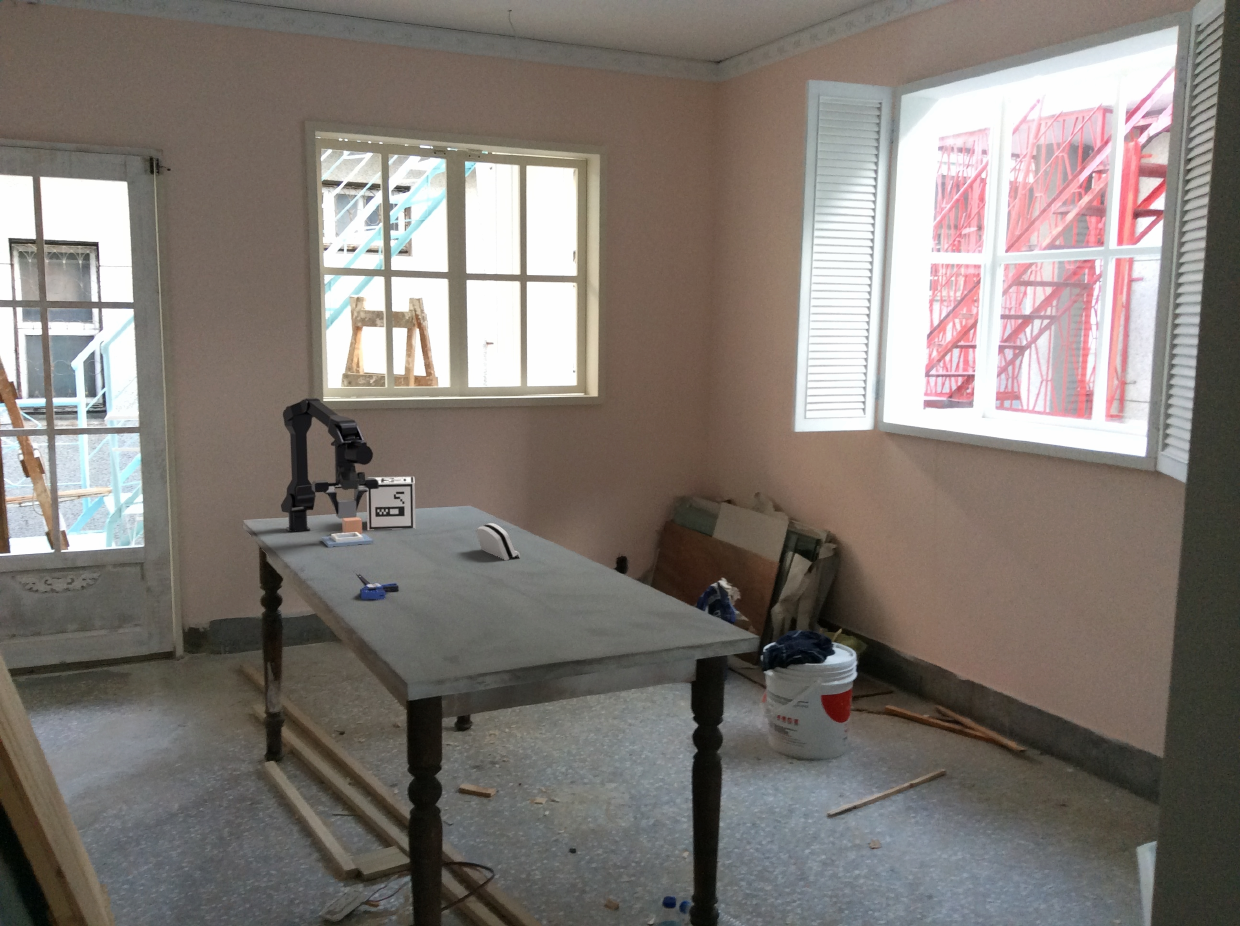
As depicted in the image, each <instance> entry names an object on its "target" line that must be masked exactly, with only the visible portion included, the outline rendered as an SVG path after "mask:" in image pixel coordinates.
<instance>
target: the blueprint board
mask: <svg viewBox="0 0 1240 926" xmlns="http://www.w3.org/2000/svg"><path fill="white" fill-rule="evenodd" d="M321 542H323V544H325V545H326V546H327V548H334V547H333V546H339V547H347V545H350V546H359V545H358V544H362V545H370V544H369V543H373V544H374V540H373V539H372V538H371V537H370V536H368V535H367V534H366V533H362V534H359V533H358V532H351V533H343V532H341V533H332V534H330V535H329V536H321Z"/></svg>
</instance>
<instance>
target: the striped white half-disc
mask: <svg viewBox="0 0 1240 926" xmlns="http://www.w3.org/2000/svg"><path fill="white" fill-rule="evenodd" d="M475 534H476V536H477V539H478V542H479V546H480V550H481V549H482V551H484V552H486V553H488V554H490V555H492V554H493V556H495V557H497V556H498V557H497V558H499V557H500V558H499V559H501V558H502V559H501V560H503V559H504V561H509V560H510V557H511V558H515V556H517V557H521V554H520V552H519V551H517V550H515V548H514V546H513V544H512V540H511V539H510V536H509V534H508V532H507V531H506V530H505V529H503V528H502V527H501V526H499V525H498V524H496V523H493V522H492V523H491V522H489V523H487V524H483V525H481V526H479V527H478V528H477V529H475ZM517 557H516V558H517ZM521 558H522V557H521Z"/></svg>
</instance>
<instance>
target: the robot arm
mask: <svg viewBox="0 0 1240 926" xmlns="http://www.w3.org/2000/svg"><path fill="white" fill-rule="evenodd" d="M282 417H283V423H284V424H283V425H284V427H285V429H286V430H287V431H288V433H289V437H290V463H291V466H290V467H291V480H290V482H289V483H288V485H287V487H286V496H285V497H284V499H283V500H282V502H281V504H280V508H281V512H283V513H287V517H288V518H287V519H288V526H286V527H285V529H286V530H287V531H288V532H289V533H293V532H305V531H311V528H310V527H309V526H308V511H314V507H315V502H316V497H317V495H316V493H324V494H325V495H327V496H328V497H329V499H330V502H331V505H332V507H333V509H334V512H335V515H336V514H338V505H337V499H338V498H337V497H338V496H337V494H338V493H337V492H336V491H335V489H342V490H343V491H348V490H353V499H354V500H356V512H357V511H358V508H359V505H360V502H361V499H362V497H363V495H364V494H365V493H367V492H368V490H367V488H368V489H379V483H378V480H377V479H375V478H368V477H366V473H365V471H358V472H357V471H356V469H357V467H356V465H362V466H367V465H368V464H370V463H371V462H372V461H373V457H374V452H373V451H372V448H371V447H370V446H368V444H367V443H368V442H367V441H365V439H364V436H363V434H362V432H361V430H360V427H359V425H358V423H357V422H356V421H355V419H353V418H350V417H347V416H344V415H343V416H342V415H339V414H338V413H336V412H335V411H333V410H332V409H331V408H329V406H327V405H325V404H324V403H322V401H321V399H319V398H317V397H311V398H304V399H301V400H300V401H299V402H296V403H294V404H291V405H288V406H286V407H285V409H283V412H282ZM313 418H315V419H316V420H317V421H319V422H320V423H322V424H323V425H324V426H325V427H326V428H327V433H328V434H329V435H330V437H332V439H334V440H333V441H332V442H331V443H330V445H331V446H332V447H334V475H335V476H334V482H329V481H327V480H325V479H324V480H323V479H322V480H313V481H312V482H311V481H310V479H309V467H308V466H309V465H308V464H309V463H308V462H309V461H308V458H309V457H308V432H309V431H310V428H311V427H312V425H313Z"/></svg>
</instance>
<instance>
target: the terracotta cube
mask: <svg viewBox="0 0 1240 926" xmlns="http://www.w3.org/2000/svg"><path fill="white" fill-rule="evenodd" d="M341 521H342V522H341V523H342V524H341V525H342V526H341V527H342V533H351V532H358V533H359V534H363V519H361V518H360V517H359V516H356V517H355V518H341Z"/></svg>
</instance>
